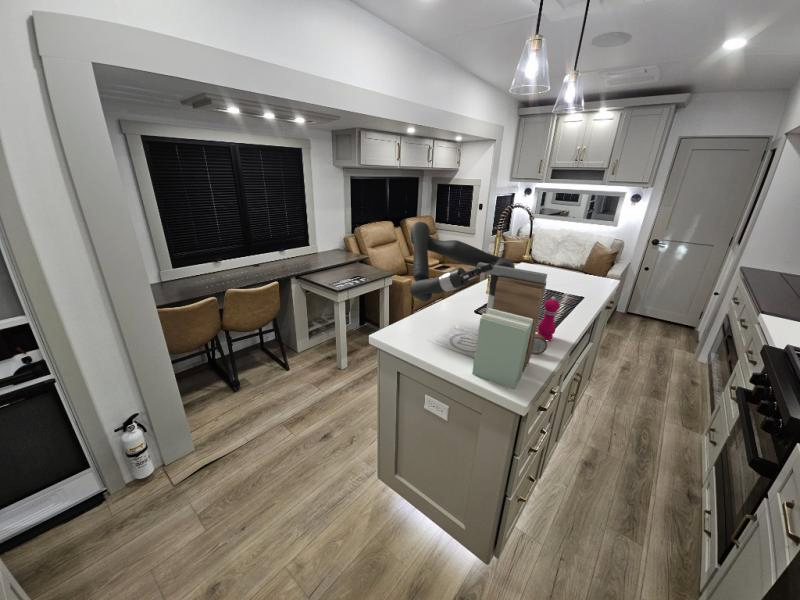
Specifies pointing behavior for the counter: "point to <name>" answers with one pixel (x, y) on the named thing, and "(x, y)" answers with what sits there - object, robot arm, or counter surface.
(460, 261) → the robot arm
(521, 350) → the sage green box
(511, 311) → the walnut post
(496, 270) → the bar
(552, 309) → the pepper mill
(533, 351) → the tin
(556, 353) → the counter surface
